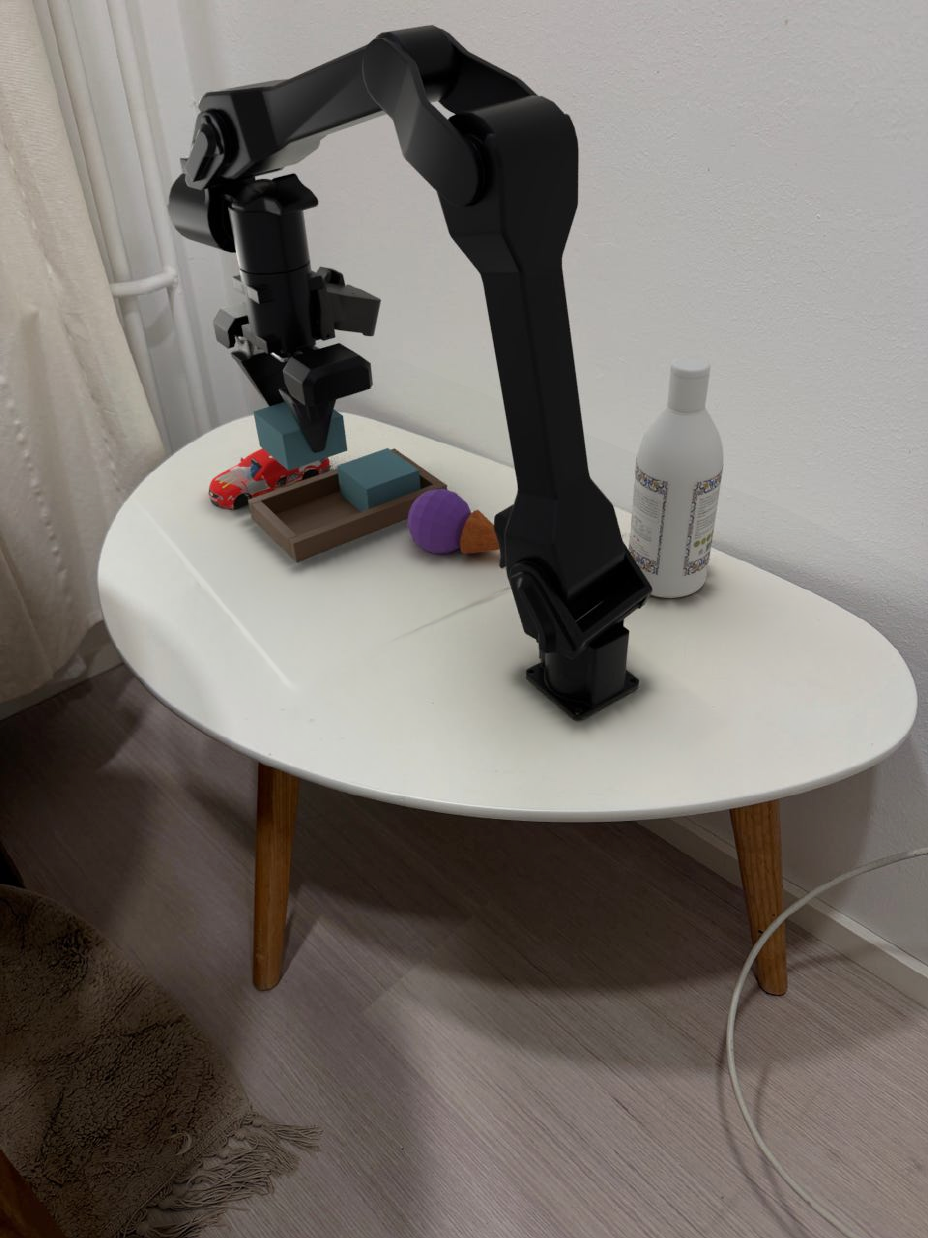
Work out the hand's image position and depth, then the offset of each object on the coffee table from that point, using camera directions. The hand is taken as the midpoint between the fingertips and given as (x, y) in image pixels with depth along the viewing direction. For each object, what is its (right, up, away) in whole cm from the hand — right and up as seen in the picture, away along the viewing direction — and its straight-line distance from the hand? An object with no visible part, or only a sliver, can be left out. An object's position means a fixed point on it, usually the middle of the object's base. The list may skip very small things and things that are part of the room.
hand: (302, 438), depth 84 cm
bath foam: (+33, -13, -2) cm, 35 cm away
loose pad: (0, -1, +1) cm, 1 cm away
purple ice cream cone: (+19, -12, +1) cm, 22 cm away
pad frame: (+3, -6, +9) cm, 11 cm away
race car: (-6, -3, +14) cm, 15 cm away
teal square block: (+6, -4, +10) cm, 12 cm away
